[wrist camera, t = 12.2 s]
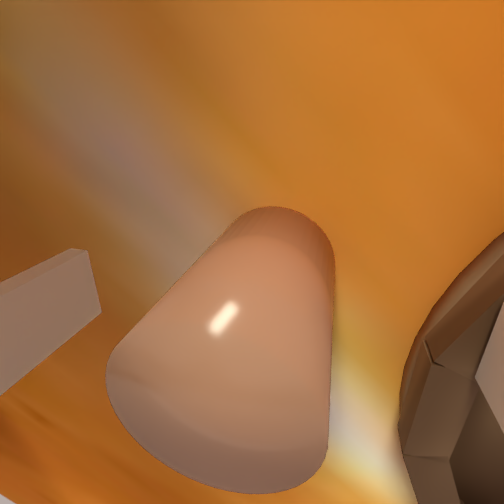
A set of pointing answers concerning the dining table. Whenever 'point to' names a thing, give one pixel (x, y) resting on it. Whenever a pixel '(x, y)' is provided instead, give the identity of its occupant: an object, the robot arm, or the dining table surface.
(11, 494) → the dining table surface
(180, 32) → the dining table surface
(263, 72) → the dining table surface
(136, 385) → the pinkish brown egg
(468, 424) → the groove tray
